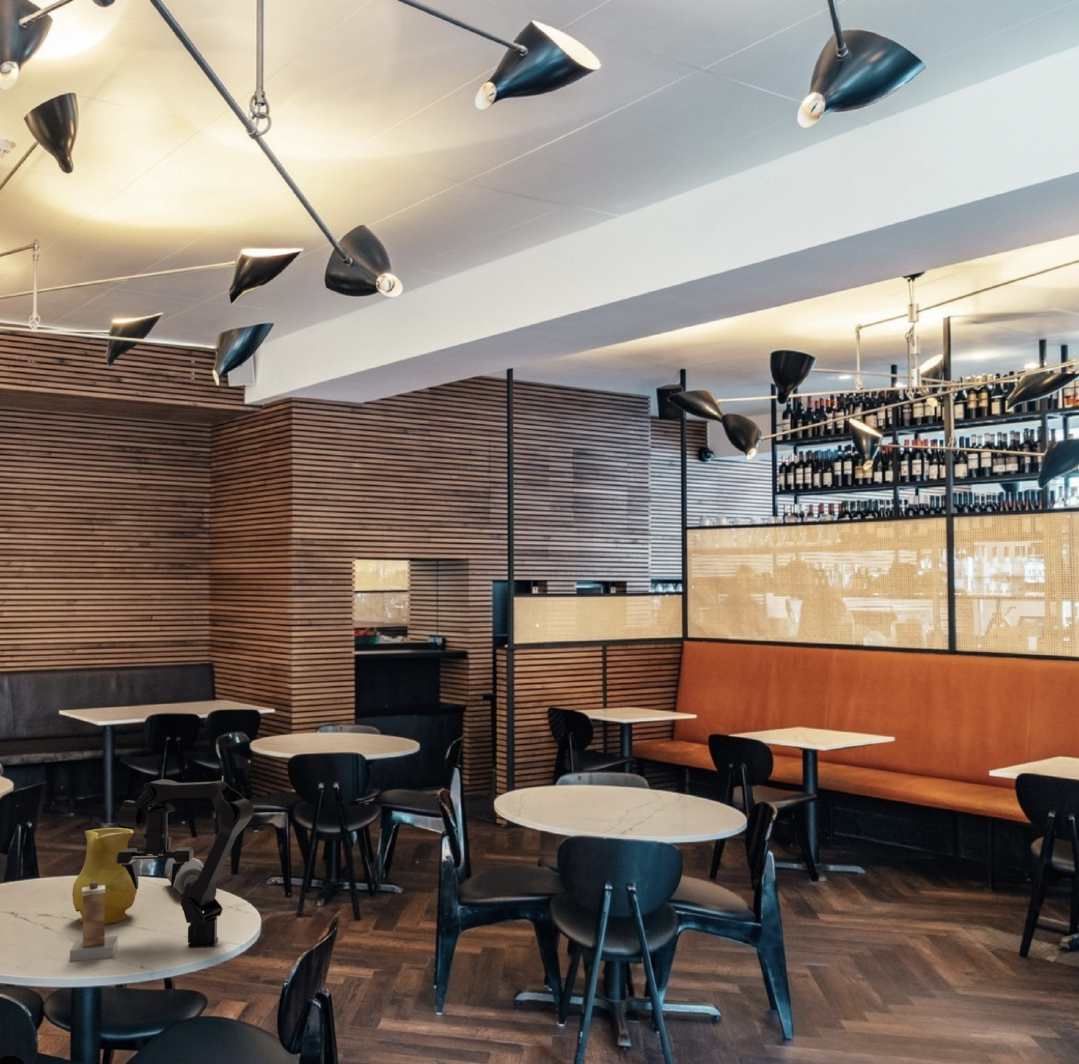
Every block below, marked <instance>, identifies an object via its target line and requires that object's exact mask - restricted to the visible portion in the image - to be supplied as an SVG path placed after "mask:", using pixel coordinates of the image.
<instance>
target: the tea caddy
mask: <svg viewBox="0 0 1079 1064" xmlns="http://www.w3.org/2000/svg"><path fill="white" fill-rule="evenodd" d="M104 893H105V885H101V886H98V884H97V882H95V881H93V882H91V883H90V885H89V887H84V888H82V896H83V923H82V939H83V947H86V946H94V945H101V944H105V937H106V936H105V925H106V924H105V925H104Z"/></svg>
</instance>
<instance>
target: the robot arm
mask: <svg viewBox="0 0 1079 1064" xmlns="http://www.w3.org/2000/svg"><path fill="white" fill-rule="evenodd" d="M198 798H201V799H202V798H209V800H211V803H212V804H213V807H214V810H215V811H216V812H217V814H219V819H218V828H219V829H218V830H219V831H218V833H217V835H216V837H215V839H214V841H213V844H212V846H211V849H210V851H209V853H208V855H207V857H206V860H205V862H204V864H203V865H202V868H201V869H202V871H201V873H200V875H199V877H198V879H196V880H194V881H191V882H189V883H187V884H186V886H185V890H184V892H183V894H182V895H181V894H180V898H181V901H180V907H181V910H182V911H183V915H184V918H185V921H186V923H187V924H189V925H188V927H187V943H188V945H187V946H188V948H194V947H195V948H197V947H214V946H215V945H216V944H217V942H218V940H219V937H218V917H220V916H222V912H223V909H224V907H223V906H222V905H221V904H220V902H219V901H218V900H217V899H216V896H217V881H218V880H219V876H220V874H221V872H222V870H223V868H224V866H225V863H226V861H227V859H228V857H229V854H230V852H231V850H232V848H233V845H234V844H235V841H236V839H237V836H238V835H239V834H241V832H242V831H243V830H244V829H245V827H247V825H248V824H249V822H250V821H251V819H252V818H253V816H254V814H255V808H254V805H253V804H252V802H251V801H250V800H248V799H247V798H245V797H244V795H243V794H242V793H240V792H238V791H236V790H235V789H234V788H232V787H231V786H229V784H228V783H227V782H225V781H224V780H217V781H216V780H215V781H200V782H199V781H198V782H197V781H196V782H177V781H175V780H172V779H164V778H162V779H158V780H154V781H150V782H149V781H148V782H146V783H144V785H143V787H142V788H141V792H140V794H139V795H138V797H137V798H136V799H135V800H132V799H130V800H129V799H128V800H124V801H123V802H122V806H121V807H120V808H119V811H118V813H117V817H116V818H117V823H118V825H119V826H121V827H127V828H129V827H130V828H143V827H144V834H143V846H144V847H143V848H144V849H143V851H138V848H137V847H135V848H133V847H131V848H128V847H127V849H123V850H121V851H120V852H119V853H118V854H117V857H116V863H118V864H120V863H123V864H122V867H125V868H126V869H127V871H128V873H129V875H130V877H131V879H132V881H133V884H134V886H135V889H137V890H138V889H139V872H138V871H139V870H138V865H139V860H146V859H147V860H149V859H150V860H151V859H153V860H156V859H157V860H158V859H161V860H162V859H163V860H164V859H169V858H174V860H175V862H174V863H173V865H172V878H171V883H170V887H171V889H174V888H175V887H174V885H175V882H176V879H177V876H178V873H179V871H180V869H181V867H182V865H185V863H186V862H189V861H190V860H191V859H193V858H194V849H193V847H191V846H187V847H185V846H181V847H178V848H176V849H175V850H171V849H172V839H173V838H172V837H171V836H169V831H168V819H169V818H168V816H169V815H168V814H169V813H171V812H174V811H176V808H175V807H174V806H173V805H172V804H171V803H170V800H173V799H174V800H175V799H198ZM166 801H167V802H166ZM161 802H164V803H162V804H158V803H161ZM151 805H152V806H151ZM150 806H151V807H150Z"/></svg>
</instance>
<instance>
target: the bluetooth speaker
mask: <svg viewBox="0 0 1079 1064" xmlns="http://www.w3.org/2000/svg"><path fill="white" fill-rule="evenodd" d="M174 862H175V860H174V858H167V860H166V862H165V865H164V872H165V876H166V878H167V879H168V881H169V882H170V884H171V878H172V865H173V863H174ZM201 871H202V868H201V866H200V865H199V863H197V862H196V861H195V860H194V859H193V858H192V859H191V860H190V861H189V862H186V863H185V865H182V867H181V869H180V871H179V873H178V876H177V879H176V882H175V885H174V887H173V888H175V889H176V891H177V892H178V891H179V892H178V893H179V894H180V896H181V895H182V894H183V892H184V890H185V886H186V884H187V883H189V882H191V881H194V880H196V879H198V877H199V875H200V873H201Z"/></svg>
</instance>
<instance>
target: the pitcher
mask: <svg viewBox="0 0 1079 1064" xmlns="http://www.w3.org/2000/svg"><path fill="white" fill-rule="evenodd" d="M84 834H85V837H86V855H85V860H84V864H83V866H82V869H81V871H80V873H79V874H78V876H76V877H77V878H75V881H74V883H73V886H72V895H71V896H72V904H73V907H74V910H75V911H76V912H77V913H78V912H79V913H80V916H81V918H79V921H80V923H82V924H83V896H82V888H84V887H89V885H90V883H91V882H93V881H95V882H97V884H98V886H101V885H105V893H104V925H109V924H114V923H119V922H121V921H123V920H126V919H127V918H128V915H127V913H126V911H127V910H129V909H131V907H133V904H134V902H135V901H136V896H137V892H138V889H135V886H134V884H133V881H132V879H131V877H130V875H129V873H128V871H127V869H126V868H125V867H122V864H123V863H120V864H118V863H116V857H117V854H118V853H119V852H120V851H121V850H123V849H127V848H128V846H129V845H128V844H129V841H130V839H131V838H132V837H133V835H134V834H135V832H134V830H133V829H131V828H130V829H129V828H123V827H106V828H97V829H96V828H95V829H91V830H90V829H89V830H85V831H84Z"/></svg>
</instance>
